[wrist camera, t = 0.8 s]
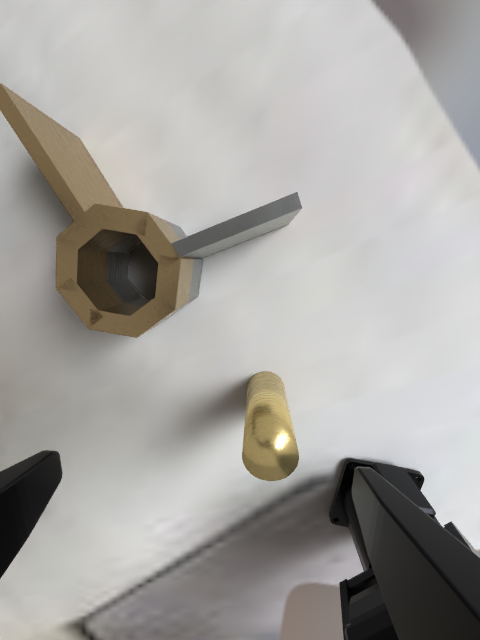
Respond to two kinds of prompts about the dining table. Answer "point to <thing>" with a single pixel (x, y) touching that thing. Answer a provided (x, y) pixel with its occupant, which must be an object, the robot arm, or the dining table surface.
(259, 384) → the hinge pin
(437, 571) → the robot arm
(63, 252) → the hinge
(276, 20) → the dining table surface
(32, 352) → the dining table surface
